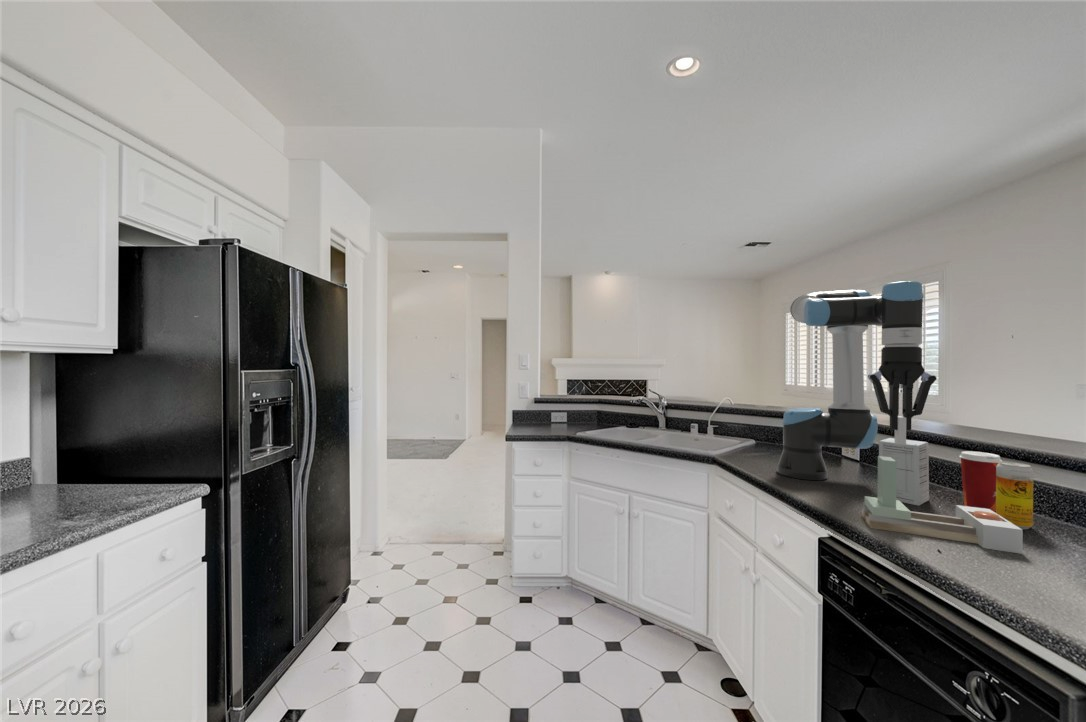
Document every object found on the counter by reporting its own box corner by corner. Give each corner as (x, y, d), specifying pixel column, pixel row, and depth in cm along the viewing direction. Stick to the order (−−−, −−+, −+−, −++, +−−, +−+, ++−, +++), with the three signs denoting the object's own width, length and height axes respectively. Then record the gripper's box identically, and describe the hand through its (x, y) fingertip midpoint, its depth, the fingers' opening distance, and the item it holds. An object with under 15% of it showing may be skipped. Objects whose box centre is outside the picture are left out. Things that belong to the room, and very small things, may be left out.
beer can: (1006, 528, 102) (1006, 465, 102) (989, 519, 108) (990, 460, 108) (1039, 531, 100) (1040, 468, 100) (1021, 522, 106) (1022, 462, 106)
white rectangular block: (955, 525, 104) (955, 505, 104) (989, 530, 101) (989, 509, 101) (983, 548, 91) (983, 524, 91) (1022, 553, 88) (1022, 529, 88)
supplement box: (930, 500, 122) (930, 442, 122) (919, 506, 117) (920, 445, 117) (889, 491, 130) (889, 437, 130) (877, 497, 125) (878, 440, 125)
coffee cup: (1011, 515, 111) (1011, 457, 111) (974, 512, 112) (974, 456, 112) (985, 504, 119) (985, 451, 119) (950, 502, 121) (950, 449, 121)
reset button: (970, 527, 99) (970, 509, 99) (994, 530, 97) (994, 512, 97) (978, 533, 95) (978, 515, 95) (1003, 536, 93) (1003, 518, 93)
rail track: (862, 515, 110) (862, 504, 110) (960, 529, 101) (960, 516, 101) (870, 527, 102) (870, 515, 102) (977, 543, 93) (977, 529, 93)
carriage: (864, 503, 110) (864, 453, 110) (898, 508, 106) (899, 456, 106) (873, 515, 101) (873, 460, 101) (910, 520, 98) (911, 464, 98)
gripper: (872, 346, 102) (871, 444, 102) (943, 345, 97) (941, 449, 97) (864, 346, 109) (863, 438, 109) (929, 346, 103) (928, 443, 104)
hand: (900, 443), depth 103 cm, fingers closed
